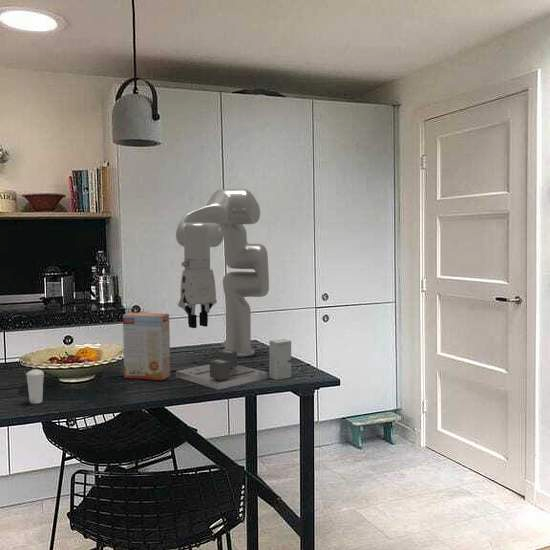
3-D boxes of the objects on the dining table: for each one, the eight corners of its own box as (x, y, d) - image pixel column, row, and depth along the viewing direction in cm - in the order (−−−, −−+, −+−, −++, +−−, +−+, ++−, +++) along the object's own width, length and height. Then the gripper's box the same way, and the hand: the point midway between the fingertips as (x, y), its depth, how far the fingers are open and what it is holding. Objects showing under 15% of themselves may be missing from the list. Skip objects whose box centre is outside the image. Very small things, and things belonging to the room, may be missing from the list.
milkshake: (22, 401, 172) (21, 366, 171) (42, 399, 175) (41, 364, 174) (25, 405, 168) (24, 369, 167) (46, 402, 171) (45, 367, 170)
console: (176, 377, 200) (175, 370, 200) (224, 367, 213) (224, 361, 213) (217, 389, 184) (217, 382, 184) (267, 378, 197) (267, 372, 197)
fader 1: (218, 366, 205) (217, 351, 204) (227, 364, 207) (227, 349, 207) (227, 368, 201) (227, 353, 200) (236, 366, 204) (236, 351, 203)
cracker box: (171, 376, 200) (170, 313, 199) (162, 381, 194) (161, 315, 193) (133, 373, 204) (131, 311, 203) (123, 378, 199) (122, 313, 197)
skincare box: (276, 380, 195) (276, 342, 194) (268, 377, 199) (268, 340, 198) (292, 377, 199) (292, 340, 198) (284, 374, 202) (284, 338, 201)
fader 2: (209, 377, 190) (209, 360, 189) (220, 374, 192) (219, 358, 192) (219, 379, 186) (219, 363, 186) (230, 377, 189) (230, 361, 188)
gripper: (181, 267, 173) (182, 331, 174) (227, 264, 184) (227, 325, 185) (166, 265, 178) (167, 328, 180) (211, 263, 189) (212, 322, 191)
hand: (198, 326), depth 183 cm, fingers open, 3 cm apart
